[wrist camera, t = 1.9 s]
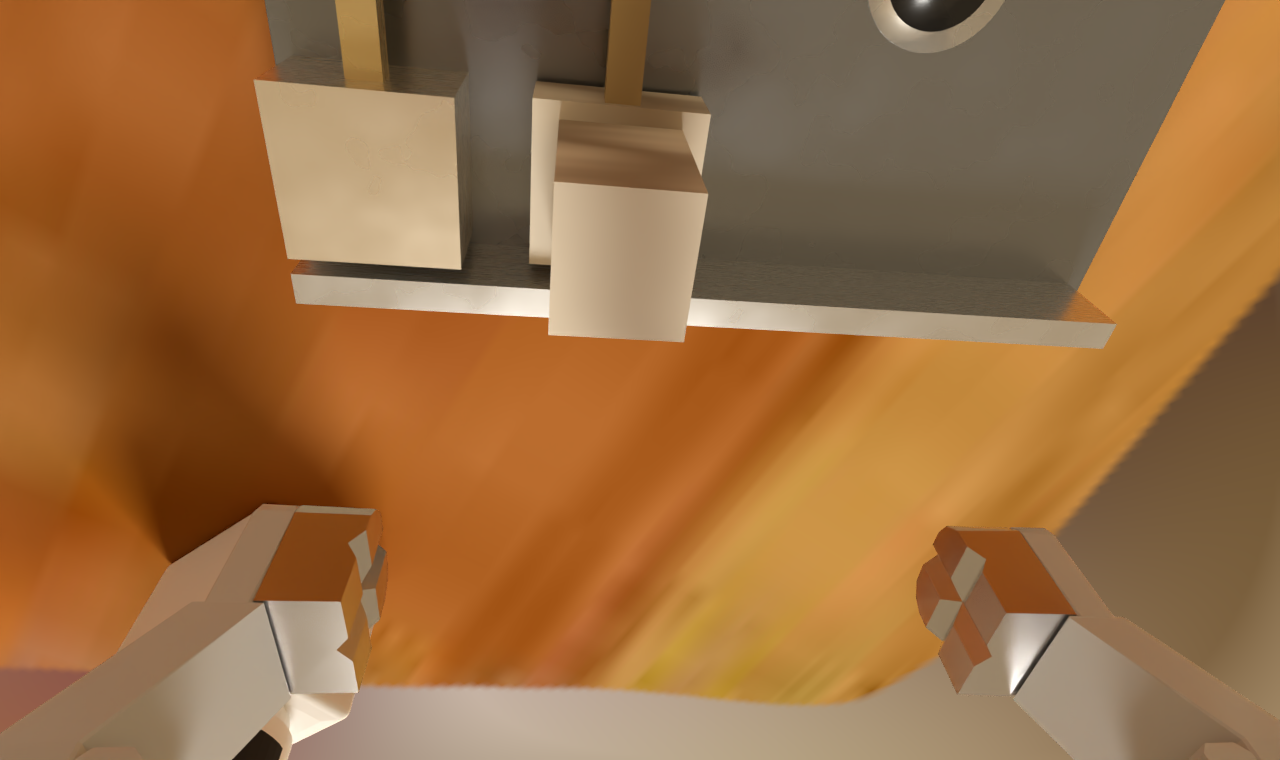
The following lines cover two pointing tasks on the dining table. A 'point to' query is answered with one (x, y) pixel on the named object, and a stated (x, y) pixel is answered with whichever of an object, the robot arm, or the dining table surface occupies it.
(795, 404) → the dining table surface
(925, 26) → the divider plate
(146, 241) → the dining table surface
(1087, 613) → the robot arm
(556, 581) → the dining table surface
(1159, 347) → the dining table surface
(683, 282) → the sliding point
